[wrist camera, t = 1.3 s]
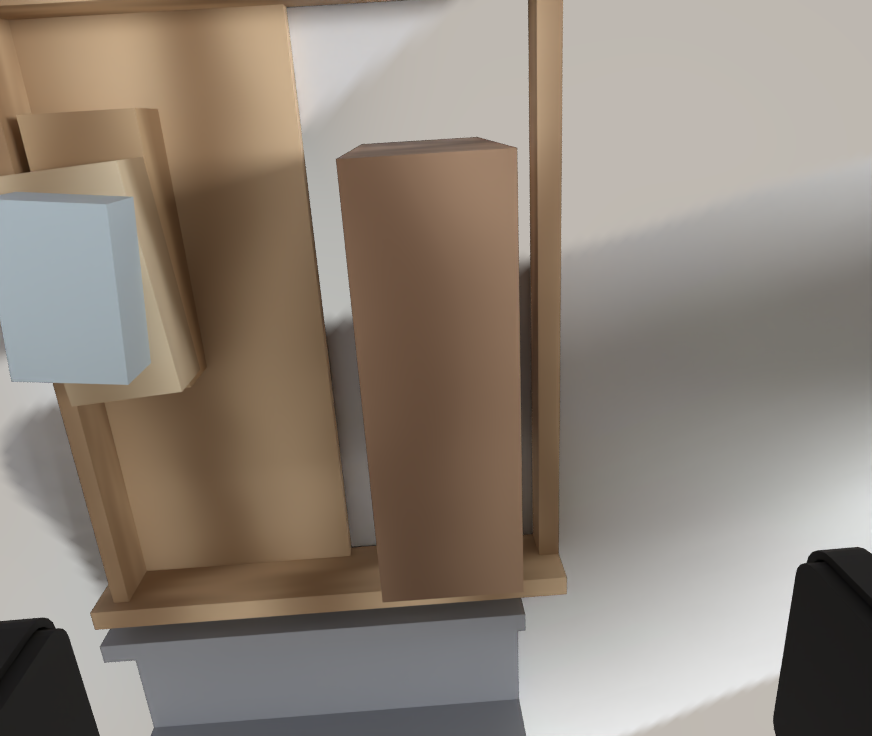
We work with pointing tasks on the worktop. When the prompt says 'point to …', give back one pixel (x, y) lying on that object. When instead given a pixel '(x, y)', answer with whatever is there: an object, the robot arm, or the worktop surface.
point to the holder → (334, 672)
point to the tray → (250, 316)
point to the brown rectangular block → (438, 360)
